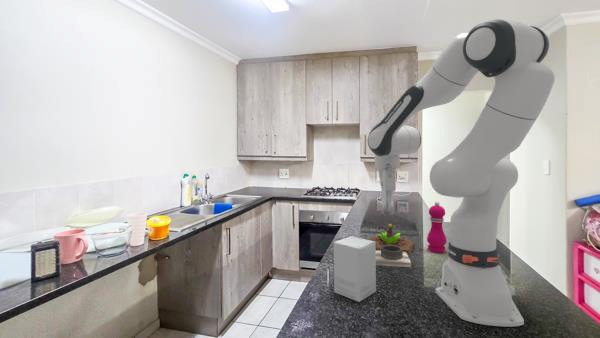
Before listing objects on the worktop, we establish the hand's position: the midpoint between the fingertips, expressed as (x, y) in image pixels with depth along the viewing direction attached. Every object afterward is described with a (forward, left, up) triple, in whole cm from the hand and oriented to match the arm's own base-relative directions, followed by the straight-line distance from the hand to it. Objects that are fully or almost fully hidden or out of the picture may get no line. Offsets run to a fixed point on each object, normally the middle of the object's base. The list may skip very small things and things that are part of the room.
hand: (387, 201), depth 112 cm
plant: (+15, -2, -23) cm, 28 cm away
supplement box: (-28, +12, -22) cm, 38 cm away
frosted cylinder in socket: (0, 0, -5) cm, 4 cm away
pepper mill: (+14, -20, -22) cm, 33 cm away
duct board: (0, -1, -22) cm, 22 cm away
